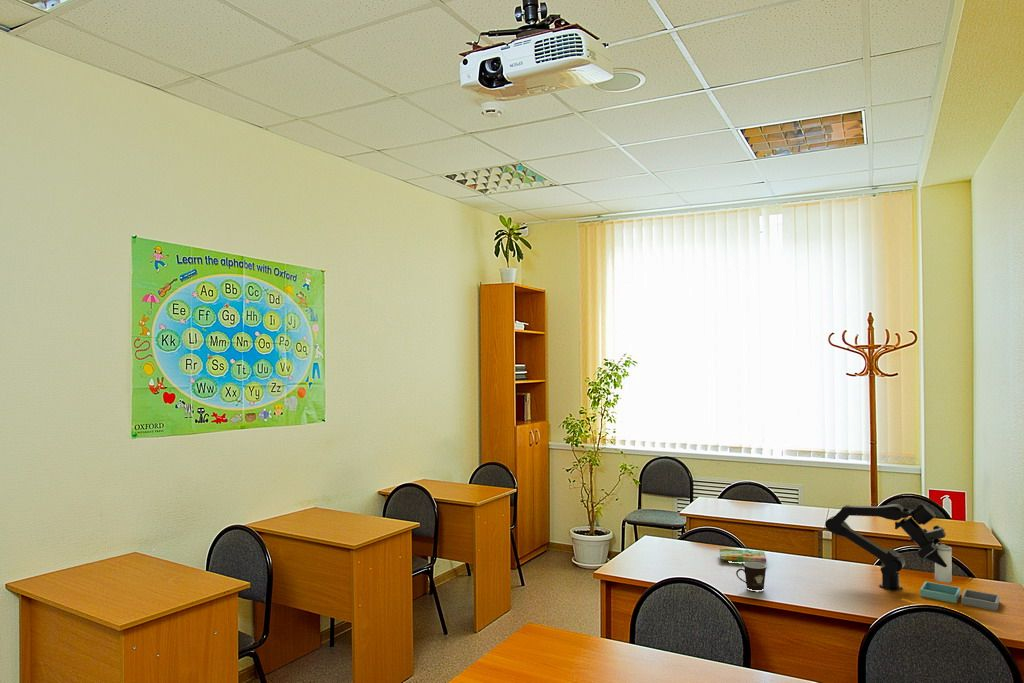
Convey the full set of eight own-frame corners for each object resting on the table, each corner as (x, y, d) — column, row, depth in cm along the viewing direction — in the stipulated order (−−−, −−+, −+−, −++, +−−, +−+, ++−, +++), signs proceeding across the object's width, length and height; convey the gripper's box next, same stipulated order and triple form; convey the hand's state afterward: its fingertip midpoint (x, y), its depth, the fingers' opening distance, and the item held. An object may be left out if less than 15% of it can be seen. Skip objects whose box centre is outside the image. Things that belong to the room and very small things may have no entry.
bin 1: (956, 605, 260) (956, 596, 260) (920, 598, 268) (920, 589, 268) (960, 596, 269) (960, 587, 269) (925, 590, 277) (925, 581, 277)
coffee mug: (766, 587, 281) (766, 563, 281) (766, 594, 272) (766, 569, 273) (736, 584, 284) (736, 560, 285) (736, 591, 276) (736, 566, 276)
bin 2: (996, 612, 252) (996, 603, 252) (961, 605, 259) (961, 596, 259) (999, 604, 261) (999, 595, 261) (965, 597, 268) (965, 588, 268)
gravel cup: (946, 583, 264) (946, 547, 264) (931, 579, 269) (931, 543, 269) (955, 581, 267) (955, 545, 267) (939, 576, 272) (939, 541, 272)
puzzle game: (766, 557, 307) (720, 553, 313) (766, 567, 307) (720, 564, 313) (764, 550, 319) (719, 546, 324) (764, 560, 319) (719, 556, 324)
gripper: (927, 524, 263) (961, 558, 256) (935, 515, 278) (967, 547, 271) (904, 541, 268) (937, 575, 261) (913, 531, 283) (944, 563, 276)
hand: (947, 564), depth 267 cm, fingers closed on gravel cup, 6 cm apart
